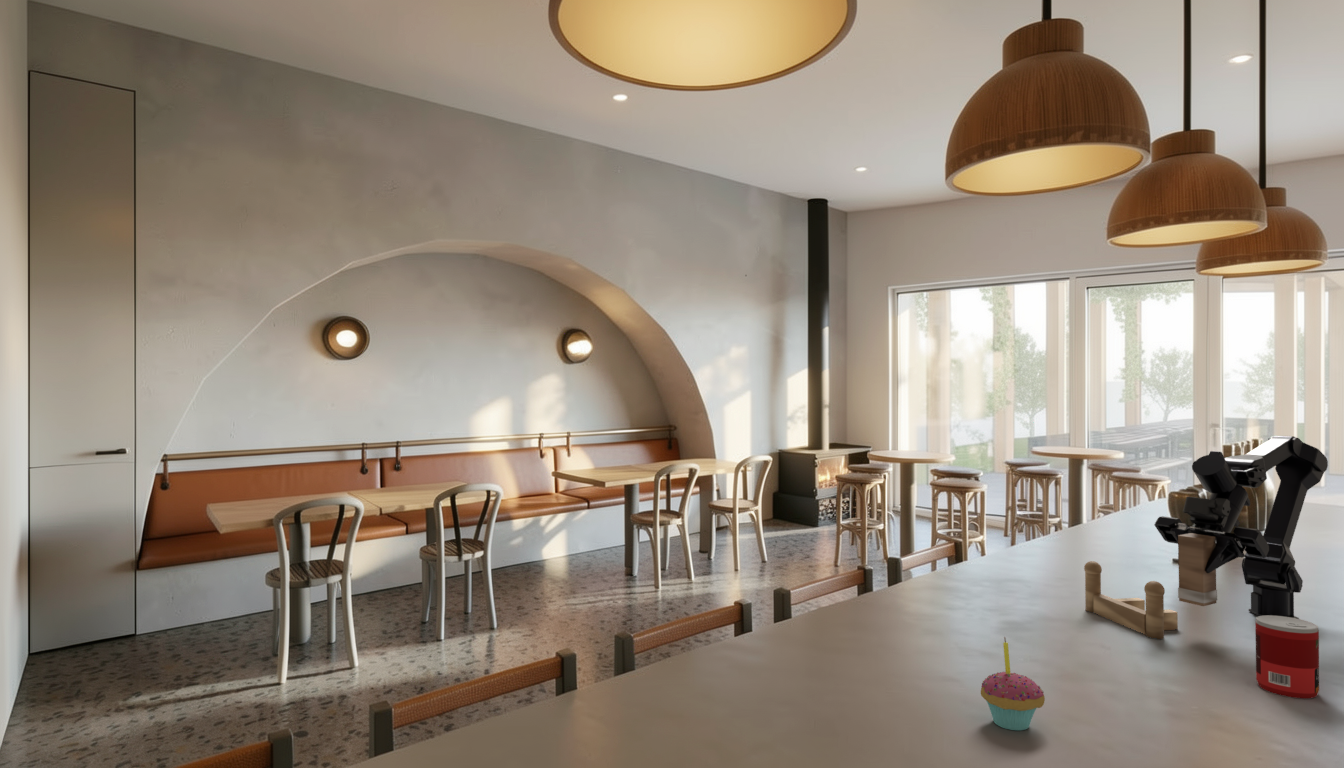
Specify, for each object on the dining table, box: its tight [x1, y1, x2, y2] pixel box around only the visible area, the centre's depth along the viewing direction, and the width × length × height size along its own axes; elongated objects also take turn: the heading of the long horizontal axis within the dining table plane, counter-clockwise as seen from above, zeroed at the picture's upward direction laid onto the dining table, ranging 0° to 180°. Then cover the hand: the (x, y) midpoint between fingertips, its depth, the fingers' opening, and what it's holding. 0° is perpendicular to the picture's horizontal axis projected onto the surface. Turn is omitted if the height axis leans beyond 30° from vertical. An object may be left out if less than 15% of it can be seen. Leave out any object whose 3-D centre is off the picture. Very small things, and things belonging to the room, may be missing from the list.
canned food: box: [1254, 615, 1320, 700], centre depth 124 cm, size 8×8×11 cm
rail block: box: [1177, 533, 1218, 607], centre depth 151 cm, size 5×5×13 cm
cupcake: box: [980, 636, 1046, 731], centre depth 111 cm, size 9×8×12 cm
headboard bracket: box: [1083, 560, 1179, 640], centre depth 160 cm, size 10×21×11 cm, turn 7°
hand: (1193, 569), depth 150 cm, fingers closed on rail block, 4 cm apart
